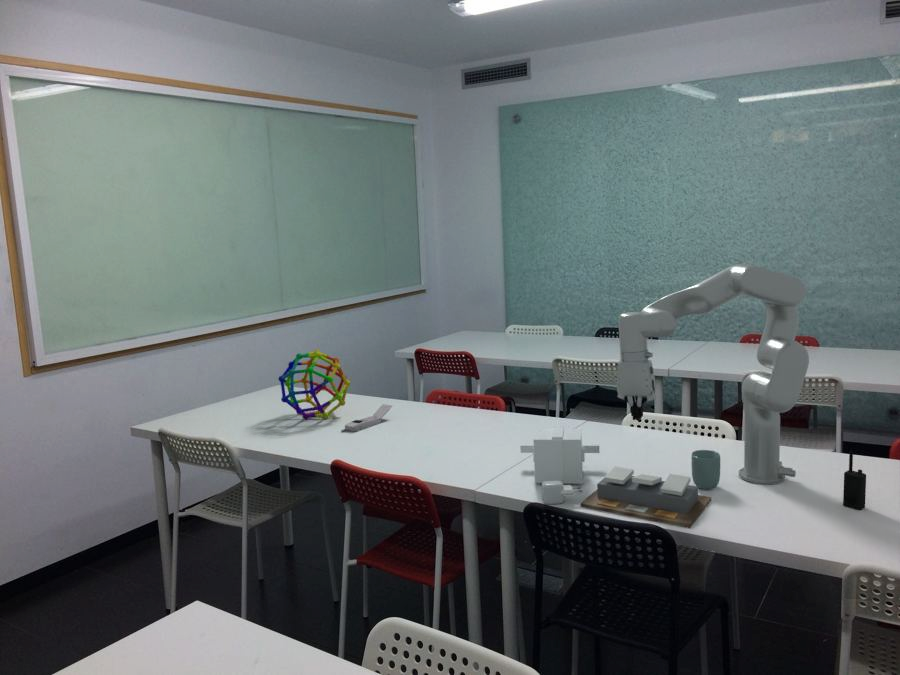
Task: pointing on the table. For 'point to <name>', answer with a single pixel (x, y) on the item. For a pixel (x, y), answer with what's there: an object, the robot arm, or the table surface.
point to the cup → (706, 469)
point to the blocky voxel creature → (558, 454)
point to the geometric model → (290, 383)
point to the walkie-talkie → (854, 487)
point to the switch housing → (648, 495)
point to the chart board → (648, 510)
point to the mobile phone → (368, 420)
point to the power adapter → (556, 492)
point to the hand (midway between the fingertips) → (637, 418)
